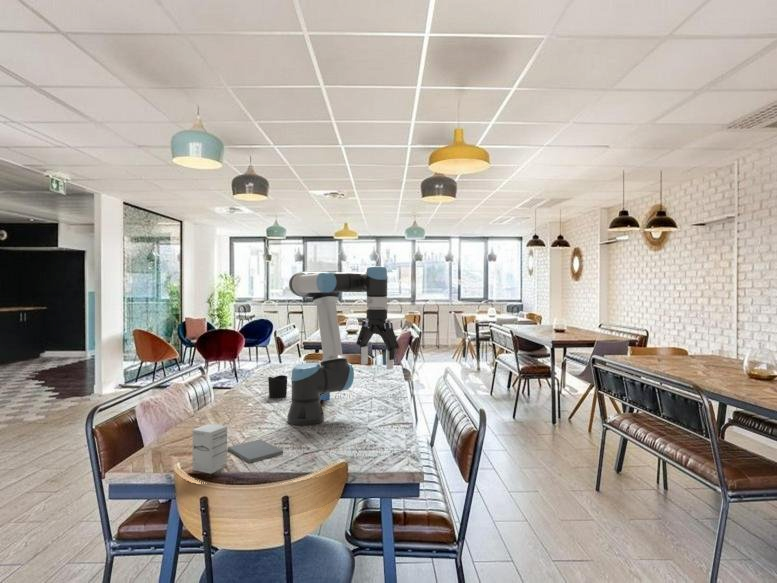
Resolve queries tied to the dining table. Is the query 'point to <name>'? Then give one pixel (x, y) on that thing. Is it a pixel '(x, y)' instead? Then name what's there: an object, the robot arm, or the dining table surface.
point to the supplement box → (209, 448)
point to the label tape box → (325, 396)
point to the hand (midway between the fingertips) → (376, 366)
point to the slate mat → (255, 450)
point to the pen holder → (277, 386)
